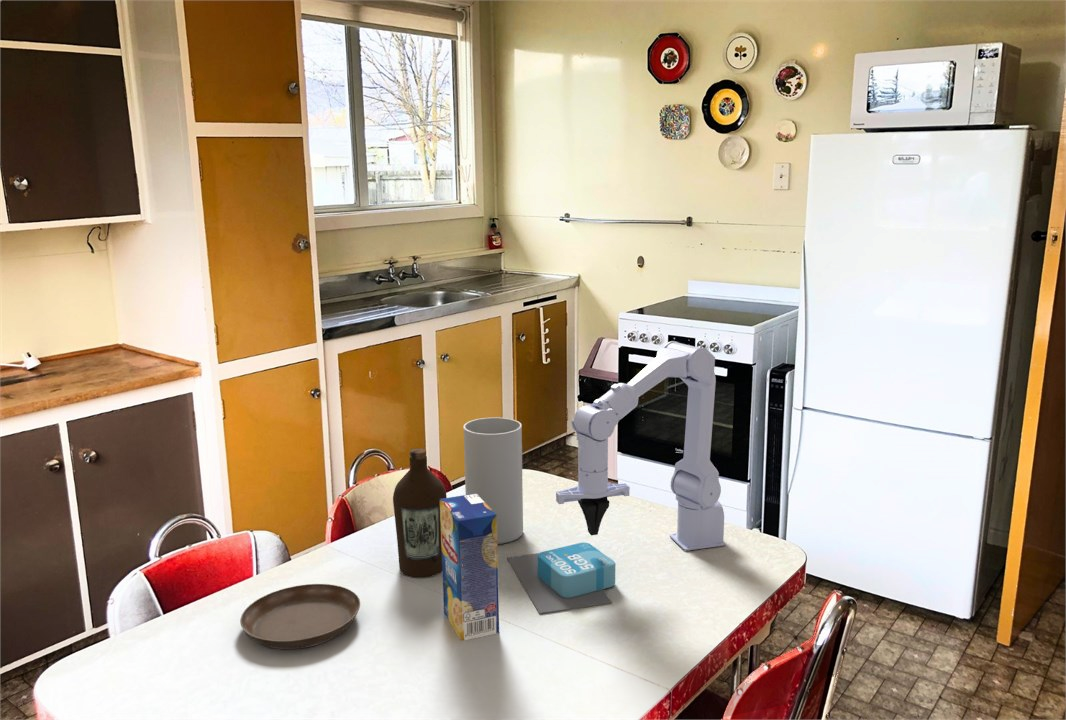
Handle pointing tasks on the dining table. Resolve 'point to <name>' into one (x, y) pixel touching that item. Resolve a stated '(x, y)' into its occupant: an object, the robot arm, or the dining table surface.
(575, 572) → the data package
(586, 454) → the robot arm
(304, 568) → the dining table surface
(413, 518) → the olive oil
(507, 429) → the cylinder vase
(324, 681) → the dining table surface
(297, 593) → the plant saucer
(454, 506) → the beverage box
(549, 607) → the mat
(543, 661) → the dining table surface
